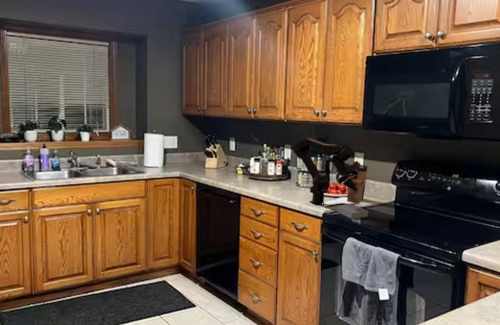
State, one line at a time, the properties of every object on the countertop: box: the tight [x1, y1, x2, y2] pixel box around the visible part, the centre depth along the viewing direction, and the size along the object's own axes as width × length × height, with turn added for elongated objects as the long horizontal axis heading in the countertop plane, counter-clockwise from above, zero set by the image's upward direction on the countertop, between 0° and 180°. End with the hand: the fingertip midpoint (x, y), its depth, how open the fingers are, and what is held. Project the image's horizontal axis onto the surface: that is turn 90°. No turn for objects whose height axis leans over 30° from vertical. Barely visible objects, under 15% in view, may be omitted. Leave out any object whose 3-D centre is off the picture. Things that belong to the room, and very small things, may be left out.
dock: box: [336, 204, 369, 219], centre depth 233 cm, size 12×11×3 cm
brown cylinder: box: [346, 182, 364, 205], centre depth 231 cm, size 6×6×10 cm
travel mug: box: [358, 164, 368, 201], centre depth 262 cm, size 8×8×20 cm
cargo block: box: [352, 179, 362, 184], centre depth 230 cm, size 4×4×3 cm
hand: (358, 189), depth 230 cm, fingers closed on brown cylinder, 6 cm apart
